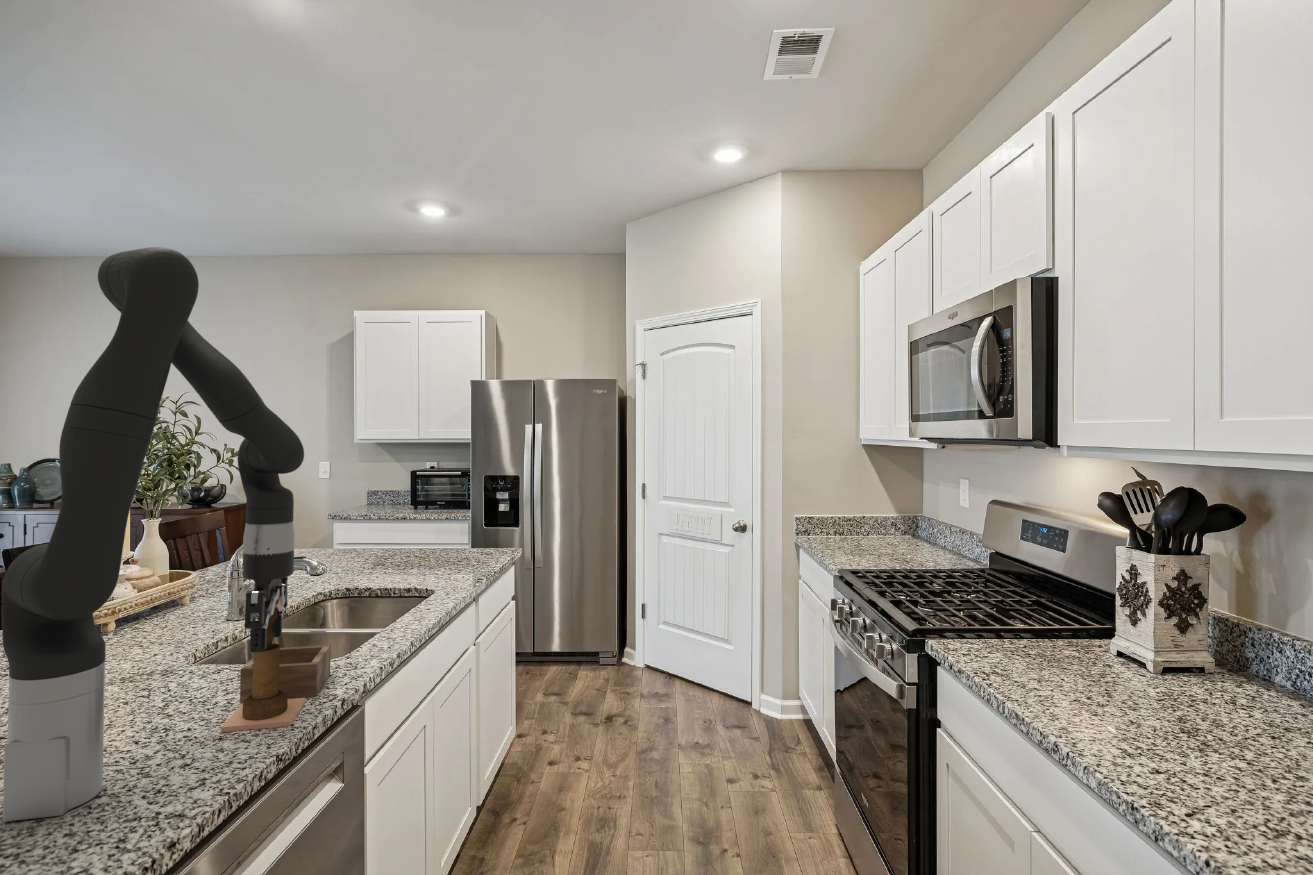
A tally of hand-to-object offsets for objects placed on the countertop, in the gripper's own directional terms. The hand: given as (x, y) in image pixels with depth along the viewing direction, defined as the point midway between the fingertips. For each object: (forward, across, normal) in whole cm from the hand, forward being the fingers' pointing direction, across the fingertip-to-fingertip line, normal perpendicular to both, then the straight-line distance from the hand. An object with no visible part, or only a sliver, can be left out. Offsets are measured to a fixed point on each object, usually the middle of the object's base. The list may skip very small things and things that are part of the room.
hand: (266, 643), depth 110 cm
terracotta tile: (+12, 0, 0) cm, 12 cm away
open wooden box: (+12, +13, 0) cm, 18 cm away
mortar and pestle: (+12, 0, 0) cm, 12 cm away
